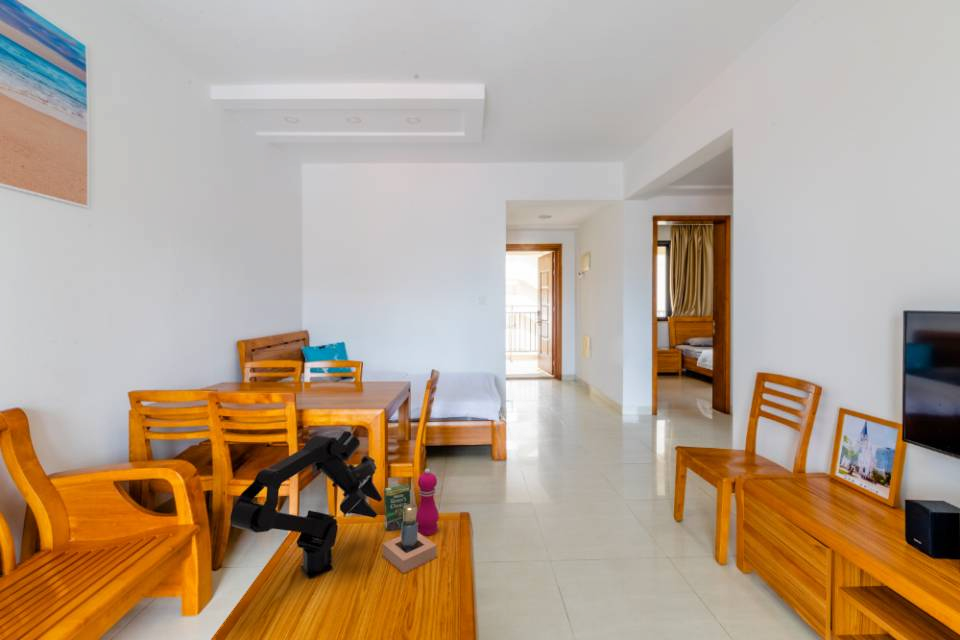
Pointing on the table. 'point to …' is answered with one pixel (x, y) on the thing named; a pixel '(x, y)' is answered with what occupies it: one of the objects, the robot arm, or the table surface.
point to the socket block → (409, 553)
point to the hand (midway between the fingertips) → (378, 508)
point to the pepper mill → (427, 504)
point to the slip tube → (409, 529)
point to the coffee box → (395, 505)
